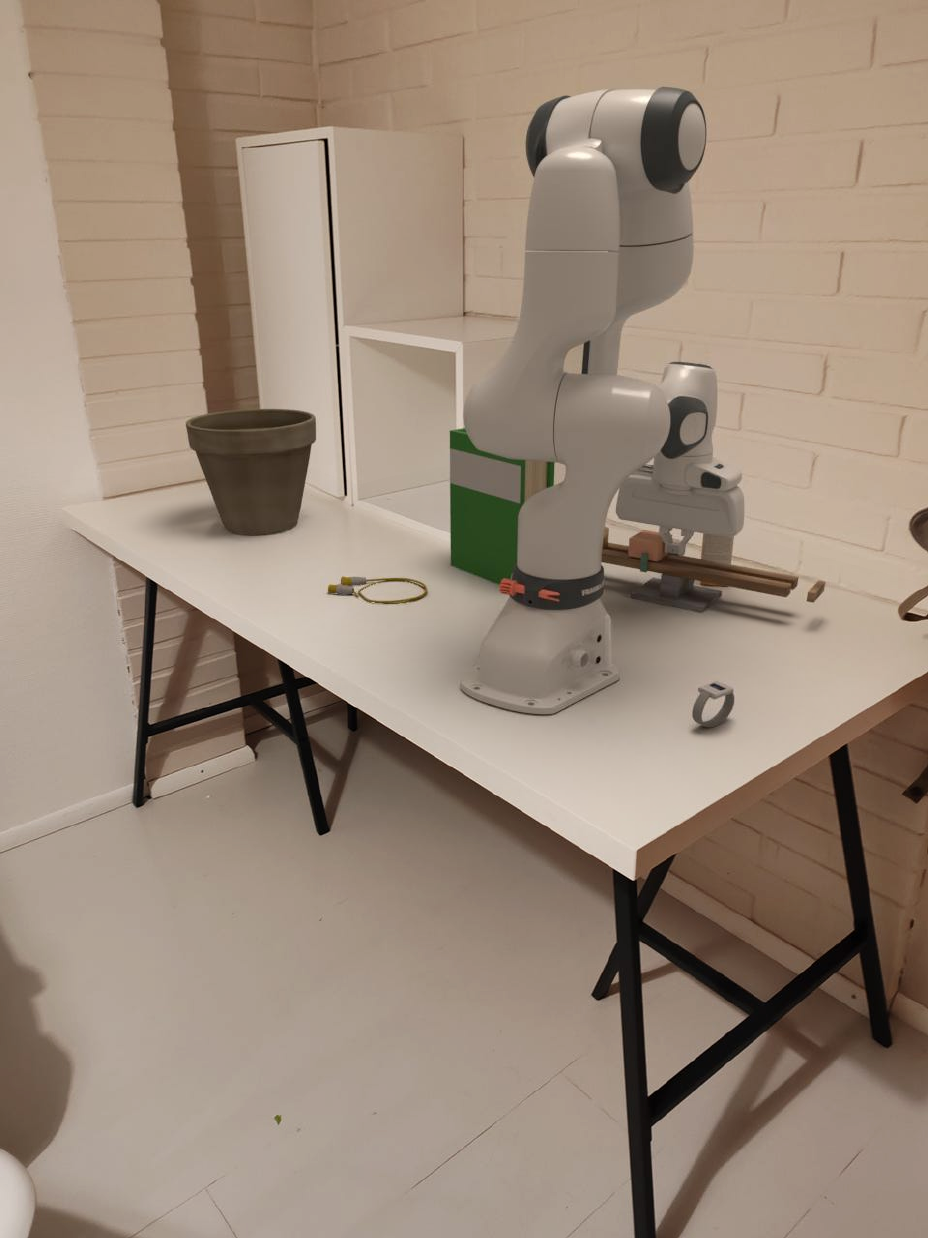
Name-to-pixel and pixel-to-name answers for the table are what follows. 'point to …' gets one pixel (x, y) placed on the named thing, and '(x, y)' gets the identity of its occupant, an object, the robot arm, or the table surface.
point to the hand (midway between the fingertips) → (674, 554)
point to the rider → (647, 545)
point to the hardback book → (489, 506)
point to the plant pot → (255, 465)
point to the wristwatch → (714, 692)
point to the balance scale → (698, 578)
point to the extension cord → (349, 581)
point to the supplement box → (716, 550)
